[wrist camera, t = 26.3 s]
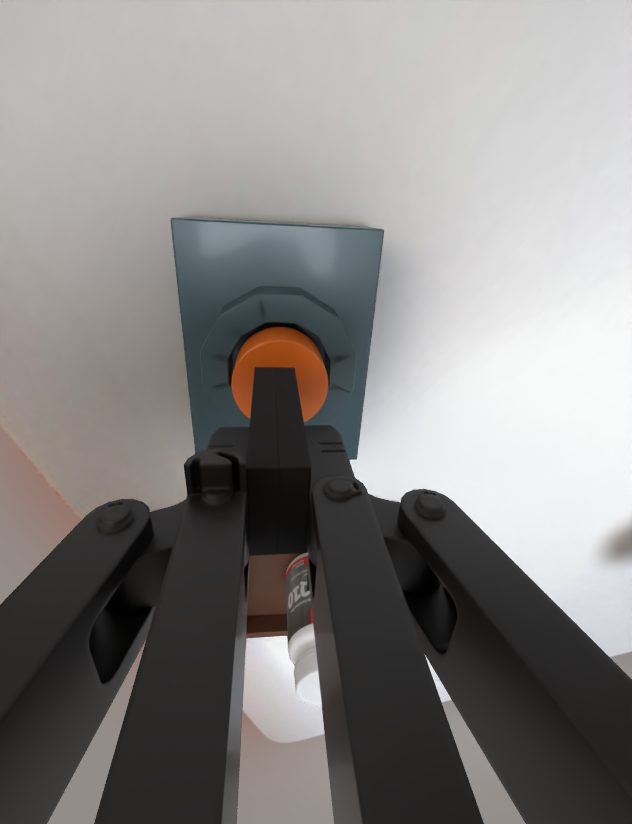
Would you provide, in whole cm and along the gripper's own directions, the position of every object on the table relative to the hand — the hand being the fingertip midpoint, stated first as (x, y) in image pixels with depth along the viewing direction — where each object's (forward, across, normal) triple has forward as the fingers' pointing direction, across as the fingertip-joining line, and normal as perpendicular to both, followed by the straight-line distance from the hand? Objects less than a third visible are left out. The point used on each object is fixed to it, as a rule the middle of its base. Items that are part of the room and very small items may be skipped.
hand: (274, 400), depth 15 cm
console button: (+3, 0, 0) cm, 3 cm away
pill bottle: (+7, +3, -18) cm, 20 cm away
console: (+8, 0, 0) cm, 8 cm away
